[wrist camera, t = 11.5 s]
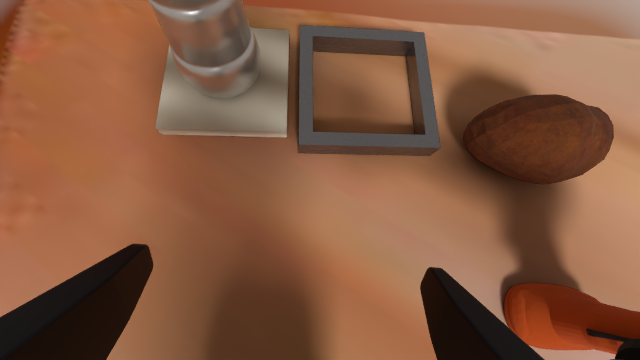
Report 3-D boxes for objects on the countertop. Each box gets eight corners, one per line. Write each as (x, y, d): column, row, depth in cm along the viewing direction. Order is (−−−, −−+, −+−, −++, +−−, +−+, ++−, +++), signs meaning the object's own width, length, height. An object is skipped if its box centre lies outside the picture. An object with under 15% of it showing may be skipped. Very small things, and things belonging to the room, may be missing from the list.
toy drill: (375, 271, 20) (633, 317, 6) (571, 284, 24) (1020, 333, 10) (375, 343, 19) (698, 602, 5) (581, 345, 23) (1120, 504, 8)
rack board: (286, 137, 24) (286, 131, 23) (162, 134, 23) (155, 128, 22) (289, 39, 27) (289, 30, 26) (178, 33, 26) (173, 23, 25)
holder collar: (429, 155, 25) (440, 147, 23) (298, 153, 24) (298, 144, 22) (415, 47, 28) (424, 32, 27) (299, 40, 27) (300, 24, 25)
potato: (570, 193, 25) (687, 168, 18) (456, 195, 24) (529, 168, 17) (549, 121, 27) (646, 70, 20) (443, 120, 26) (503, 66, 19)
